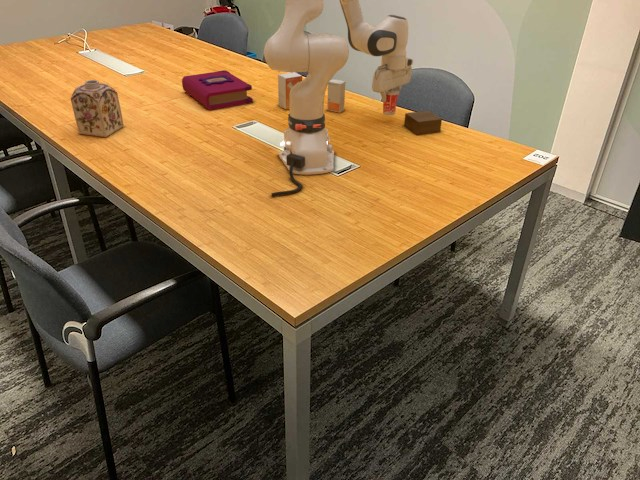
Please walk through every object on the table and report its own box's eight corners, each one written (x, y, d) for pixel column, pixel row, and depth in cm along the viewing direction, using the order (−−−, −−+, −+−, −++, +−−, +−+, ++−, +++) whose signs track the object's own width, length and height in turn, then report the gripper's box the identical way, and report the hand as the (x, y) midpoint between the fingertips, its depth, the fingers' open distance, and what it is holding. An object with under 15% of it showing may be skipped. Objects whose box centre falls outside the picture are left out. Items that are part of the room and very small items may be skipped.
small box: (285, 110, 215) (285, 78, 208) (278, 105, 220) (277, 74, 212) (302, 106, 219) (302, 75, 212) (294, 102, 223) (294, 71, 216)
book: (207, 111, 213) (205, 92, 209) (183, 92, 233) (180, 75, 228) (253, 102, 222) (253, 84, 218) (226, 85, 242) (225, 68, 238)
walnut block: (440, 131, 198) (442, 119, 195) (416, 135, 195) (418, 122, 192) (426, 122, 206) (428, 110, 203) (403, 125, 203) (405, 113, 200)
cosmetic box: (326, 110, 216) (327, 81, 209) (331, 107, 219) (332, 78, 212) (340, 113, 213) (341, 83, 207) (344, 110, 216) (345, 81, 210)
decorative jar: (125, 126, 197) (115, 78, 187) (106, 138, 188) (95, 87, 178) (97, 123, 200) (86, 75, 190) (77, 134, 190) (65, 84, 180)
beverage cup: (396, 111, 207) (400, 75, 199) (396, 116, 202) (400, 80, 194) (381, 110, 207) (384, 74, 200) (380, 115, 202) (383, 79, 195)
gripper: (383, 68, 186) (380, 107, 193) (415, 59, 199) (411, 95, 206) (369, 65, 189) (366, 103, 197) (402, 56, 202) (398, 92, 210)
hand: (390, 99), depth 201 cm, fingers closed on beverage cup, 6 cm apart
